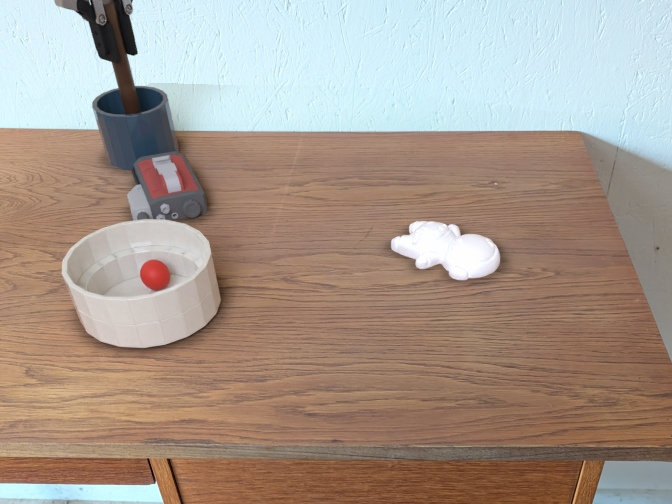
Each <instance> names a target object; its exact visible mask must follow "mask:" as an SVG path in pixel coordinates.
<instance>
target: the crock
mask: <svg viewBox="0 0 672 504" xmlns="http://www.w3.org/2000/svg"><path fill="white" fill-rule="evenodd" d="M135 88H136V92H137V96H138V100H139V104H140V108H141V113H137V114H128V115H125V111H124V108H123V104H122V100H121V96H120V92H119V89H118V87H116V88H112V89H109V90H107V91H104V92H102V93H100V94H99V95H97V96H95V98H94V99H93V101H92V102H91V108H92V112H93V115H94V118H95V122H96V125H97V128H98V132H99V135H100V139H101V142H102V145H103V149H104V152H105V155H106V159H107V161H108V162H109V164H110V165H111V166H113V167H115V168H117V169H121V170H124V171H131V169H132V167H134V163H135V162H136V161H137V160H138V159H139V158H140V157H144V156H150V155H156V154H161V153H167V152H172V151H176V152H179V153H180V146H179V143H178V138H177V133H176V129H175V124H174V120H173V115H172V110H171V106H170V105H171V104H170V100H169V96H168V94H167V93H166V92H165V91H164V90H162V89H160V88H157V87H153V86H147V85H135Z"/></svg>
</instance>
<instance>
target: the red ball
mask: <svg viewBox="0 0 672 504" xmlns="http://www.w3.org/2000/svg"><path fill="white" fill-rule="evenodd" d="M140 278H141V280H142V282H143V283H144V285H145V286H147V287H148V288H150V289H152V290H161V289H163V288H165V287H166V286H167V285H168V283H169V281H170V271H169V269H168V267H167V266H166V265H165V264H164V263H163V262H161V261H159V260H149V261H147V262H145V263H144V264H143V265H142V267H141V269H140Z"/></svg>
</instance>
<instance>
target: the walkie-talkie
mask: <svg viewBox="0 0 672 504" xmlns="http://www.w3.org/2000/svg"><path fill="white" fill-rule="evenodd" d="M130 171H131V175H132V177H133V179H134V182H135V185H134V186H133V188H131V189H130V190H129V191H128V193H127V194H126V197H127V201H128V205H129V208H130V214H131V216H132V217H131V218H132V221H134V220H142V219H160V220H170V221H175V220H179V219H185V218H188V219H189V218H191V219H195V218H197V217H199V216H200V215H203V214H207V213H208V212H209V209H208V205H209V203H208V198H207V194H206V193H205V192H204V189H203V187H202V186H201V183H200V181H199V180H198V177H197V176H196V174H195V172H194V170H193V168H192V166H191V164H190V162H189V160H188V158H187V156H186V155H185V154H184V153H181V152H180V151H179V152H176V151H172V152H167V153H161V154H156V155H150V156H144V157H140V158H139V159H138V160H137V161H136V162H135V163H134V167H132V169H131V170H130Z"/></svg>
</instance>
